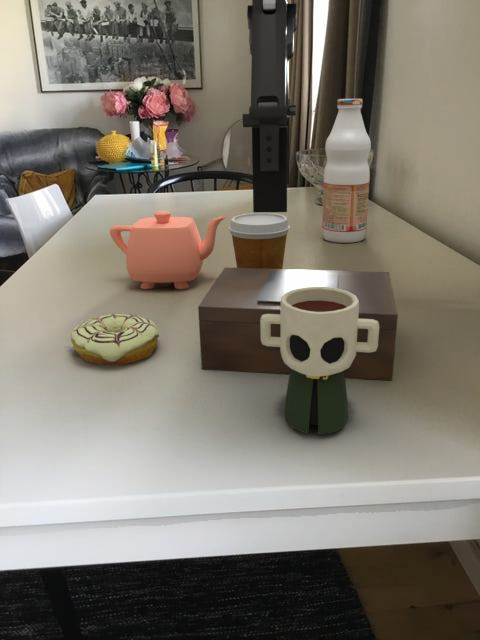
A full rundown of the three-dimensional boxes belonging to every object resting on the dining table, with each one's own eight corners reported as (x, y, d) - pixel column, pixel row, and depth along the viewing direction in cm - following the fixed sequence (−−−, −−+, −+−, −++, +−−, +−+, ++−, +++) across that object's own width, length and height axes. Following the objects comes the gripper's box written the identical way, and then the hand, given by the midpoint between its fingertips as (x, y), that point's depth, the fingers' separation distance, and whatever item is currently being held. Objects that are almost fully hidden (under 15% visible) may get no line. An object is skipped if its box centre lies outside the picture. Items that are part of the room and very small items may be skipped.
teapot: (105, 292, 93) (96, 220, 89) (124, 270, 104) (117, 205, 100) (226, 292, 92) (223, 219, 87) (232, 270, 103) (230, 204, 98)
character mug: (255, 436, 54) (253, 309, 49) (267, 398, 60) (266, 283, 55) (372, 447, 52) (382, 316, 47) (371, 407, 58) (380, 288, 53)
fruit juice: (325, 244, 118) (330, 100, 107) (318, 233, 126) (322, 99, 116) (370, 243, 118) (379, 98, 107) (360, 232, 126) (368, 97, 116)
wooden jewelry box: (384, 327, 77) (389, 270, 74) (392, 380, 63) (398, 312, 60) (226, 320, 81) (224, 265, 78) (201, 369, 67) (197, 304, 64)
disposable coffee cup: (246, 279, 98) (244, 210, 93) (298, 286, 94) (299, 214, 89) (220, 297, 90) (217, 222, 85) (275, 305, 86) (275, 227, 81)
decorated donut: (118, 378, 66) (114, 348, 64) (56, 357, 71) (52, 329, 70) (175, 344, 74) (173, 318, 72) (116, 328, 79) (113, 303, 78)
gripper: (239, -44, 56) (244, 176, 64) (199, -132, 33) (215, 228, 41) (316, -47, 55) (311, 175, 63) (329, -140, 32) (319, 227, 40)
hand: (273, 196), depth 52 cm, fingers open, 13 cm apart
